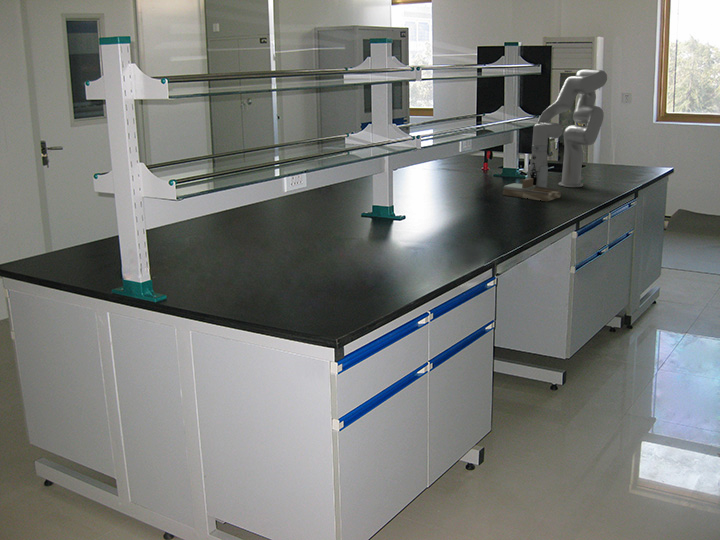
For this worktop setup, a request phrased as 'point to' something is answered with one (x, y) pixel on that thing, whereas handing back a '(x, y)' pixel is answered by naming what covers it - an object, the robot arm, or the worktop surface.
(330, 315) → the worktop surface
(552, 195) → the sliding lid wooden box
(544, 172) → the small box
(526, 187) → the lid
